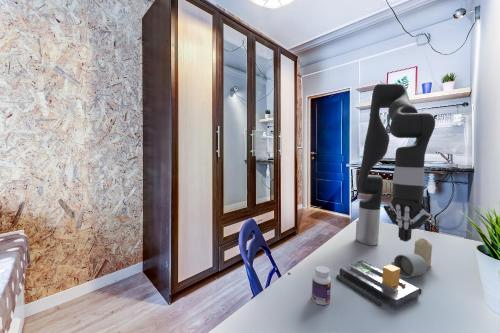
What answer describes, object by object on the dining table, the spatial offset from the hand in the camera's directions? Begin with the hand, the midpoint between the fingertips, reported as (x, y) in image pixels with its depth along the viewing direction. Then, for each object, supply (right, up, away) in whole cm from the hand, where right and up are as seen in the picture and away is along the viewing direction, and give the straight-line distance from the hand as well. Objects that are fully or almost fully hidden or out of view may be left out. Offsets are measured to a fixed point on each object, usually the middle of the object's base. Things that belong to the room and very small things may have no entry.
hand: (404, 240), depth 68 cm
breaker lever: (-1, -16, +5) cm, 16 cm away
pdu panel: (-3, -18, +9) cm, 21 cm away
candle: (+24, -18, +25) cm, 38 cm away
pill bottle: (-24, -19, +2) cm, 31 cm away
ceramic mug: (+13, -18, +18) cm, 29 cm away
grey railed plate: (-3, -18, +9) cm, 21 cm away
